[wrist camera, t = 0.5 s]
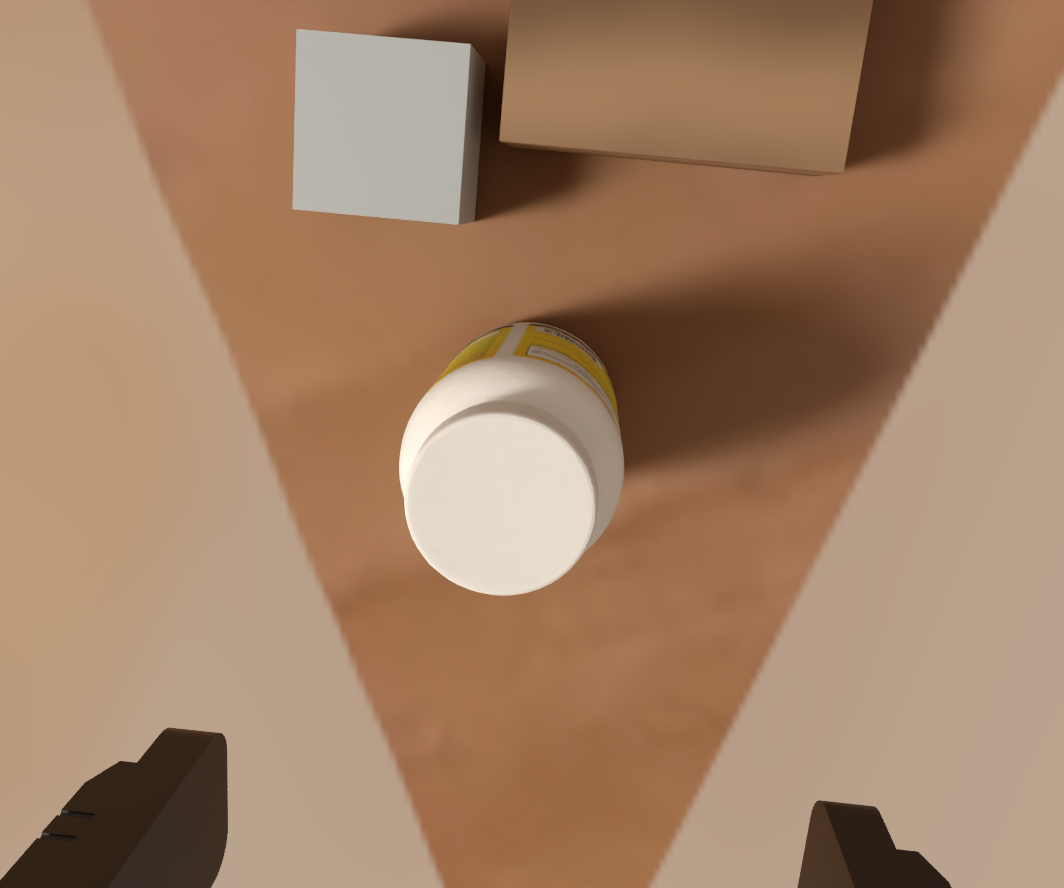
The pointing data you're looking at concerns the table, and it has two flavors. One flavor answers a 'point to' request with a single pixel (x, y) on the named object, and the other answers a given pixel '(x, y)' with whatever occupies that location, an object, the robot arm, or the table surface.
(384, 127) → the slate block
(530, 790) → the table surface
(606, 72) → the walnut block
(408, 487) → the pill bottle
